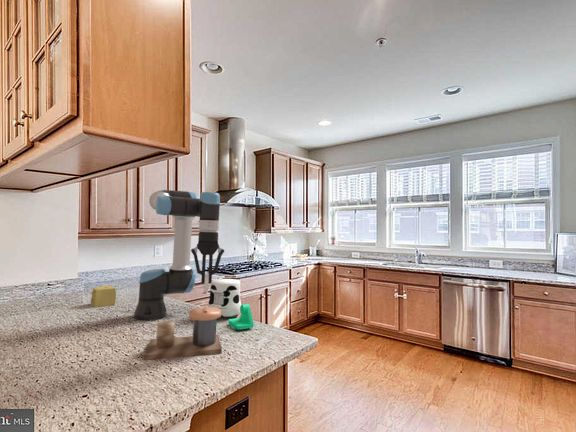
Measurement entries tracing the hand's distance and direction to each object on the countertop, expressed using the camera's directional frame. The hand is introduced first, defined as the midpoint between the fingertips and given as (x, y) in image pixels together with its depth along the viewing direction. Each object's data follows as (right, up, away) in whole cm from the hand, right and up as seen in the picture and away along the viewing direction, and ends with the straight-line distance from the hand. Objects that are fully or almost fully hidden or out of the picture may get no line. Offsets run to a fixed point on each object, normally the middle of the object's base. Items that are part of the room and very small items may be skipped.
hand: (206, 291), depth 122 cm
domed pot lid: (0, -12, -2) cm, 12 cm away
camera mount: (+10, -23, +23) cm, 34 cm away
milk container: (-1, -23, +41) cm, 47 cm away
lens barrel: (0, -19, -2) cm, 19 cm away
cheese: (-74, -22, +56) cm, 95 cm away
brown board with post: (-7, -20, -4) cm, 22 cm away
